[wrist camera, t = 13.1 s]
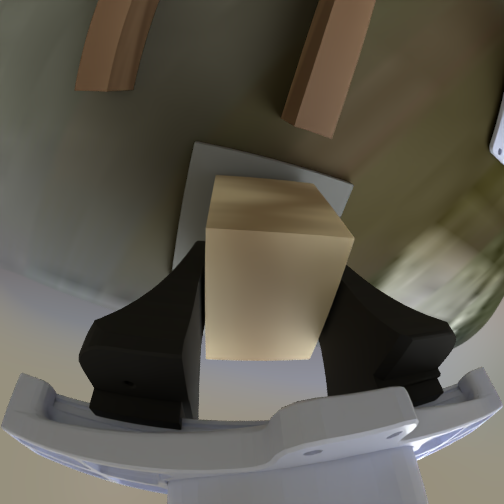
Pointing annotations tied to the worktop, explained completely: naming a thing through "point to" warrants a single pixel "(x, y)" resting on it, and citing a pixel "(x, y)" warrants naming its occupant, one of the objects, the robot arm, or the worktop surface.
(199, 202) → the gray mat
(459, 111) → the worktop surface
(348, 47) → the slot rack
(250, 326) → the maple block
